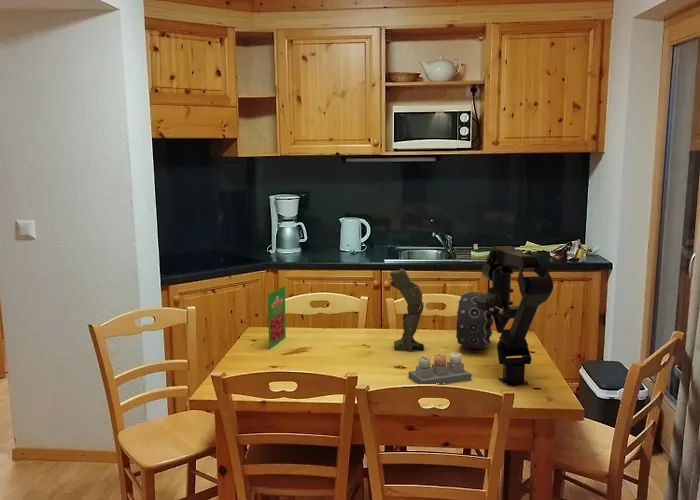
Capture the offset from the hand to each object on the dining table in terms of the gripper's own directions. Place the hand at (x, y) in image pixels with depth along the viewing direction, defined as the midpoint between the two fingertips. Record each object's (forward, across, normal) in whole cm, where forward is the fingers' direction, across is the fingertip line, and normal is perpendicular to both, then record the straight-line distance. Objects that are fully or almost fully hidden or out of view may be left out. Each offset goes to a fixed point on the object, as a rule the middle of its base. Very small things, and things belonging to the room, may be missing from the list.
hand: (499, 332), depth 209 cm
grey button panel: (+12, +1, -22) cm, 25 cm away
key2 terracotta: (+10, +1, -22) cm, 24 cm away
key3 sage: (+10, +1, -28) cm, 29 cm away
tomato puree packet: (+12, -54, -58) cm, 80 cm away
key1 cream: (+10, +1, -17) cm, 19 cm away
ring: (+12, -22, +6) cm, 26 cm away
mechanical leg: (+12, -30, -17) cm, 37 cm away
